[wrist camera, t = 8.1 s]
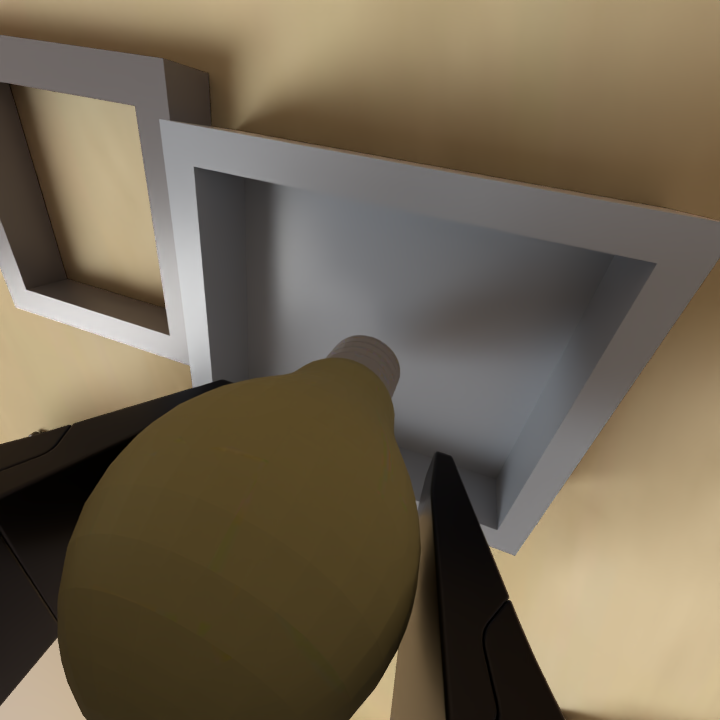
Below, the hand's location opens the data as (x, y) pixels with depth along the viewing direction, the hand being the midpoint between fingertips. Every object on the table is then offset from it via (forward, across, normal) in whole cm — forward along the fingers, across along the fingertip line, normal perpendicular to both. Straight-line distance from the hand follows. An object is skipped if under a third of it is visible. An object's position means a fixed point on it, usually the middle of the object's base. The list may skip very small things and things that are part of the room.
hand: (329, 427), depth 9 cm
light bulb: (+4, 0, 0) cm, 4 cm away
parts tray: (+6, 0, 0) cm, 6 cm away
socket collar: (+6, +13, -2) cm, 15 cm away
